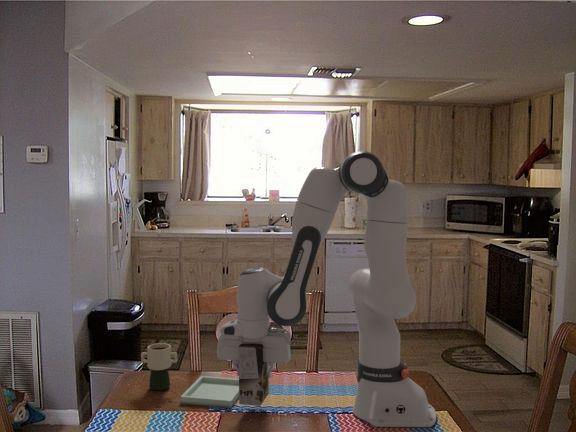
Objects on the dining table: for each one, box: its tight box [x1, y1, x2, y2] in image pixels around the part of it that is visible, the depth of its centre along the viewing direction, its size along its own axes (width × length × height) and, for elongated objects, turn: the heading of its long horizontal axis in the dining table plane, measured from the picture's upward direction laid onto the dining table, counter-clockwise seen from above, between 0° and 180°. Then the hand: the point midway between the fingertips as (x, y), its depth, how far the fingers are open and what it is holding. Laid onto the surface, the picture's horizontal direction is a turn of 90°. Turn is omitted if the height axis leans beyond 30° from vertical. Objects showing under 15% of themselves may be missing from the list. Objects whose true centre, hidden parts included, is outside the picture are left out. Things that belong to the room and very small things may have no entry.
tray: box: [179, 375, 239, 409], centre depth 173 cm, size 15×17×2 cm
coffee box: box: [238, 344, 270, 407], centre depth 161 cm, size 9×6×16 cm
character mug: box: [140, 342, 178, 391], centre depth 177 cm, size 11×7×13 cm, turn 91°
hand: (254, 376), depth 161 cm, fingers closed on coffee box, 6 cm apart
